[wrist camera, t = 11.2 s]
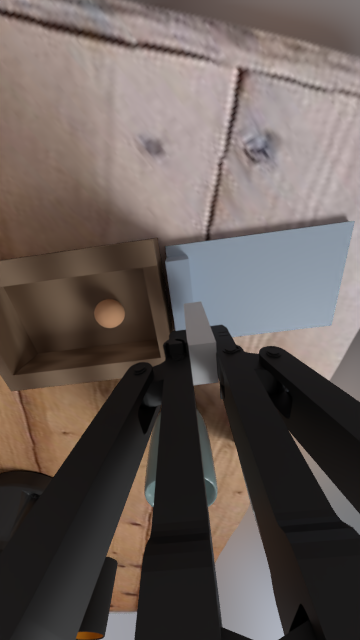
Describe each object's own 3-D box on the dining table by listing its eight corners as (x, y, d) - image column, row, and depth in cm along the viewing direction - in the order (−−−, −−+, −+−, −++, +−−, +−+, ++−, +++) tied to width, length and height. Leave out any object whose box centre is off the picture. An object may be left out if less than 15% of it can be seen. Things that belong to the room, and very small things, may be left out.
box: (38, 365, 25) (11, 391, 21) (-17, 262, 20) (-68, 270, 16) (175, 348, 24) (175, 372, 20) (157, 237, 19) (152, 239, 15)
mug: (92, 574, 55) (74, 645, 45) (82, 556, 50) (61, 632, 40) (121, 573, 55) (110, 643, 46) (115, 555, 50) (101, 631, 41)
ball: (104, 322, 22) (94, 334, 20) (96, 297, 21) (84, 307, 18) (130, 318, 22) (124, 331, 19) (123, 293, 21) (116, 303, 18)
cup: (159, 433, 31) (153, 517, 22) (148, 398, 28) (134, 479, 19) (208, 427, 31) (221, 510, 22) (202, 390, 27) (214, 469, 18)
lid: (179, 338, 24) (180, 359, 20) (165, 246, 20) (163, 249, 16) (324, 321, 24) (354, 339, 20) (344, 221, 19) (388, 219, 15)
